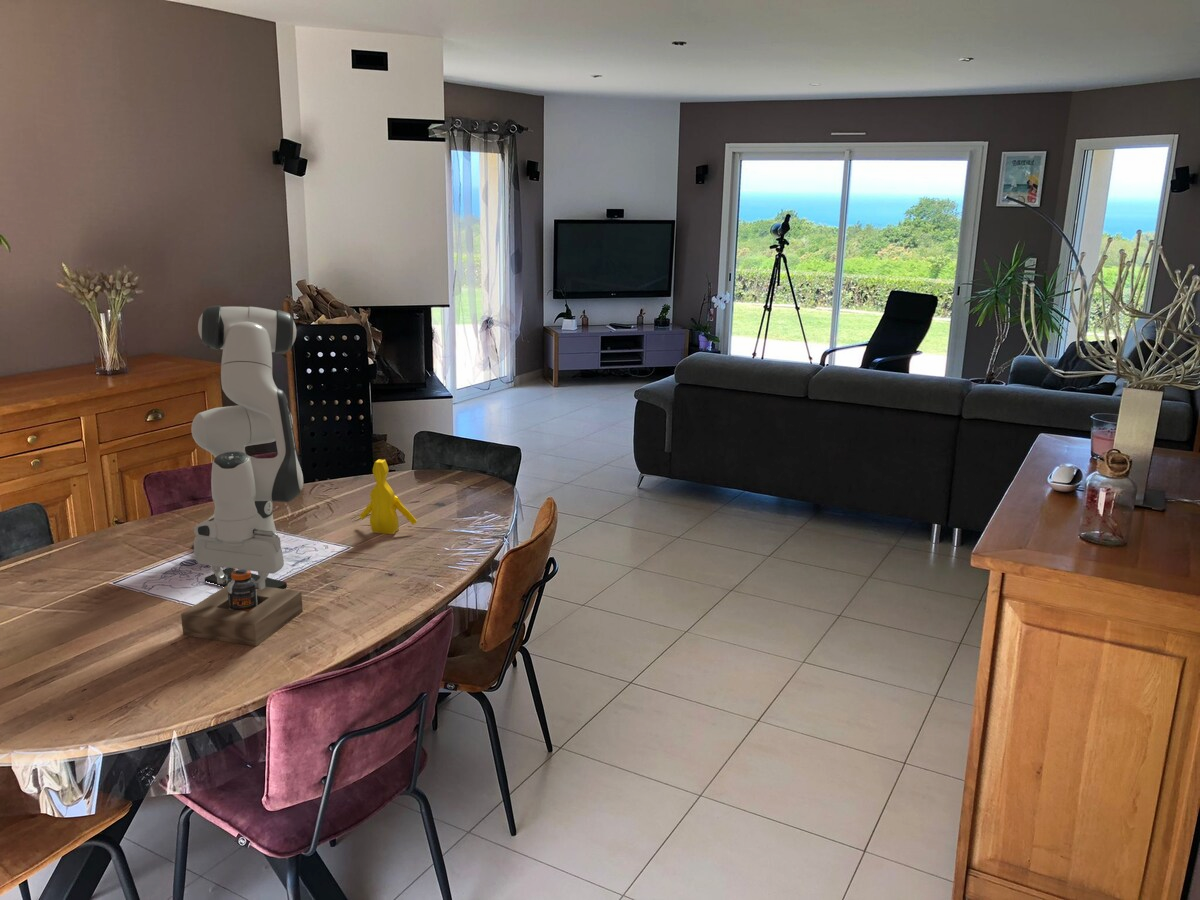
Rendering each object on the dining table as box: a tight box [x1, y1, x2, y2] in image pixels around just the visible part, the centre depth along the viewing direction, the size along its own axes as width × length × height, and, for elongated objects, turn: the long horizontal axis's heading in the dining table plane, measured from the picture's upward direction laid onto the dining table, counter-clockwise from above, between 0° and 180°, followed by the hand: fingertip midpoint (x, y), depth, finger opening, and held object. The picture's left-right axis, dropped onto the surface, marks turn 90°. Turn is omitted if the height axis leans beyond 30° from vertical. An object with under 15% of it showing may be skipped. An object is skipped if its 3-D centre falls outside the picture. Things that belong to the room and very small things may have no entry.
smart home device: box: [204, 567, 288, 589], centre depth 226 cm, size 8×2×20 cm
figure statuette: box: [359, 459, 418, 535], centre depth 261 cm, size 18×8×22 cm, turn 78°
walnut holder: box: [180, 585, 303, 647], centre depth 205 cm, size 18×18×5 cm
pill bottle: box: [228, 569, 258, 612], centre depth 204 cm, size 6×6×11 cm
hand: (241, 585), depth 203 cm, fingers open, 8 cm apart
